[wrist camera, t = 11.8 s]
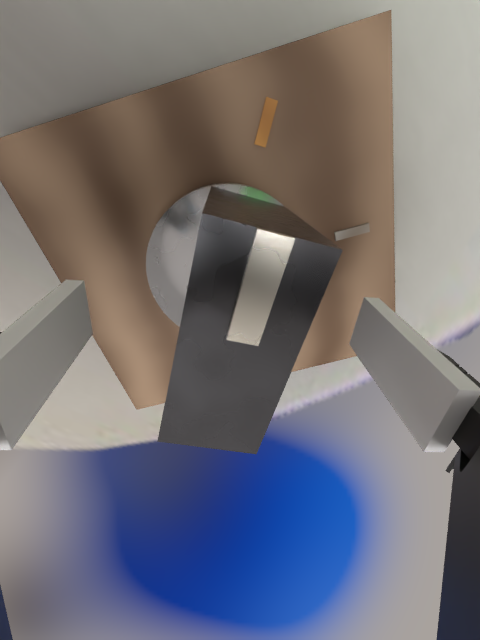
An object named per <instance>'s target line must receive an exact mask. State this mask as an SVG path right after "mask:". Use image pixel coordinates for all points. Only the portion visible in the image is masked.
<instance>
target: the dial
mask: <svg viewBox="0 0 480 640" xmlns="http://www.w3.org/2000/svg"><path fill="white" fill-rule="evenodd" d="M342 251H343V250H342V249H341V248H340V247H338V246H337V245H336V244H334V243H333V242H332V241H330V240H329V239H328V238H326V237H325V236H324V235H322V234H321V233H320V232H318V231H317V230H316V229H314V228H313V227H312V226H310V225H309V224H308V223H306V222H305V221H304V220H302V219H301V218H300V217H298V216H297V215H296V214H294V213H293V212H292V211H290V210H289V209H288V208H286V207H285V206H283V205H282V204H281V203H280V202H279V201H277V200H276V199H274V198H273V197H272V196H270V195H269V194H267V193H265V192H263V191H261V190H260V189H257V188H254V187H251V186H248V185H244V184H239V183H215V184H211V185H207V186H203V187H200V188H198V189H195V190H193V191H191V192H189V193H188V194H186V195H184V196H183V197H182V198H180V199H179V200H178V201H176V202H175V203H174V204H173V205H172V206H171V207H170V208H169V209H168V210H167V211H166V212H165V213H164V214H163V216H162V217H161V219H160V220H159V221H158V223H157V225H156V226H155V228H154V230H153V232H152V235H151V238H150V240H149V243H148V248H147V254H146V272H147V278H148V283H149V286H150V289H151V292H152V294H153V296H154V298H155V300H156V302H157V304H158V305H159V307H160V308H161V309H162V311H163V312H164V313H165V314H166V315H167V316H168V318H169V319H170V320H172V321H173V322H174V323H175V324H176V325H178V326H179V327H180V329H179V334H178V339H177V344H176V349H175V355H174V360H173V365H172V370H171V375H170V380H169V385H168V391H167V396H166V401H165V406H164V411H163V416H162V421H161V426H160V432H159V437H158V442H167V443H174V444H182V445H190V446H197V447H205V448H213V449H221V450H229V451H236V452H244V453H252V454H256V453H257V451H258V449H259V447H260V444H261V442H262V439H263V437H264V435H265V432H266V430H267V428H268V425H269V423H270V421H271V418H272V416H273V414H274V411H275V409H276V407H277V404H278V402H279V399H280V397H281V395H282V392H283V390H284V388H285V385H286V383H287V381H288V378H289V376H290V373H291V371H292V369H293V366H294V364H295V362H296V359H297V357H298V355H299V352H300V350H301V348H302V345H303V343H304V340H305V338H306V336H307V333H308V331H309V329H310V326H311V324H312V322H313V319H314V317H315V314H316V312H317V310H318V307H319V305H320V303H321V300H322V298H323V296H324V293H325V291H326V289H327V286H328V284H329V281H330V279H331V277H332V274H333V272H334V270H335V267H336V265H337V263H338V260H339V258H340V255H341V253H342Z"/></svg>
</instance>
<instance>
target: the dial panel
mask: <svg viewBox="0 0 480 640" xmlns="http://www.w3.org/2000/svg"><path fill="white" fill-rule="evenodd" d="M0 181H1V182H2V184H3V186H4V187H5V189H6V191H7V192H8V194H9V196H10V197H11V199H12V201H13V203H14V204H15V206H16V208H17V209H18V211H19V213H20V214H21V216H22V218H23V219H24V221H25V223H26V224H27V226H28V228H29V229H30V231H31V233H32V234H33V236H34V238H35V240H36V241H37V243H38V245H39V246H40V248H41V250H42V251H43V253H44V255H45V256H46V258H47V260H48V261H49V263H50V265H51V266H52V268H53V270H54V271H55V273H56V275H57V276H58V278H59V280H60V282H61V283H63V282H64V281H65V280H80V281H84V283H85V289H86V295H87V301H88V307H89V313H90V319H91V325H92V331H93V334H92V335H93V337H94V339H95V340H96V342H97V344H98V345H99V347H100V349H101V350H102V352H103V354H104V356H105V357H106V359H107V361H108V362H109V364H110V366H111V367H112V369H113V371H114V372H115V374H116V376H117V377H118V379H119V381H120V382H121V384H122V386H123V387H124V389H125V391H126V393H127V394H128V396H129V398H130V399H131V401H132V403H133V404H134V406H135V408H136V409H141V408H145V407H150V406H154V405H158V404H162V403H165V401H166V396H167V391H168V385H169V380H170V375H171V370H172V365H173V360H174V355H175V349H176V344H177V339H178V334H179V329H180V327H179V326H178V325H176V324H175V323H174V322H173V321H172V320H170V319H169V318H168V316H167V315H166V314H165V313H164V312H163V311H162V309H161V308H160V307H159V305H158V304H157V302H156V300H155V298H154V296H153V294H152V292H151V289H150V286H149V283H148V278H147V272H146V254H147V248H148V243H149V240H150V238H151V235H152V232H153V230H154V228H155V226H156V225H157V223H158V221H159V220H160V219H161V217H162V216H163V214H164V213H165V212H166V211H167V210H168V209H169V208H170V207H171V206H172V205H173V204H174V203H175V202H176V201H178V200H179V199H180V198H182V197H183V196H184V195H186V194H188V193H189V192H191V191H193V190H195V189H198V188H200V187H203V186H207V185H211V184H215V183H239V184H244V185H248V186H251V187H254V188H257V189H260V190H261V191H263V192H265V193H267V194H269V195H270V196H272V197H273V198H274V199H276V200H277V201H279V202H280V203H281V204H282V205H283V206H285V207H286V208H288V209H289V210H290V211H292V212H293V213H294V214H296V215H297V216H298V217H300V218H301V219H302V220H304V221H305V222H306V223H308V224H309V225H310V226H312V227H313V228H314V229H316V230H317V231H318V232H320V233H321V234H322V235H324V236H325V237H326V238H328V239H329V240H330V241H332V242H333V243H334V244H336V245H337V246H338V247H340V248H341V249H342V250H343V251H342V253H341V255H340V258H339V260H338V263H337V265H336V267H335V270H334V272H333V274H332V277H331V279H330V281H329V284H328V286H327V289H326V291H325V293H324V296H323V298H322V300H321V303H320V305H319V307H318V310H317V312H316V314H315V317H314V319H313V322H312V324H311V326H310V329H309V331H308V333H307V336H306V338H305V340H304V343H303V345H302V348H301V350H300V352H299V355H298V357H297V359H296V362H295V364H294V366H293V369H292V371H291V372H293V371H297V370H301V369H305V368H309V367H313V366H318V365H322V364H326V363H330V362H334V361H338V360H342V359H346V358H350V357H354V356H357V355H356V353H355V352H354V350H353V349H352V348H351V346H350V345H349V343H350V340H351V337H352V334H353V330H354V327H355V324H356V321H357V318H358V314H359V311H360V308H361V305H362V302H363V299H364V297H370V298H379V299H380V300H382V301H383V302H384V303H385V304H386V305H387V306H388V307H389V308H391V309H392V310H393V311H394V312H395V256H394V182H393V107H392V32H391V10H389V11H386V12H383V13H380V14H377V15H374V16H371V17H368V18H365V19H362V20H359V21H356V22H353V23H350V24H347V25H344V26H340V27H337V28H334V29H331V30H328V31H325V32H322V33H319V34H316V35H313V36H310V37H307V38H304V39H301V40H298V41H295V42H291V43H288V44H285V45H282V46H279V47H276V48H273V49H270V50H267V51H264V52H261V53H258V54H255V55H252V56H249V57H246V58H242V59H239V60H236V61H233V62H230V63H227V64H224V65H221V66H218V67H215V68H212V69H209V70H206V71H203V72H200V73H197V74H194V75H190V76H187V77H184V78H181V79H178V80H175V81H172V82H169V83H166V84H163V85H160V86H157V87H154V88H151V89H148V90H145V91H141V92H138V93H135V94H132V95H129V96H126V97H123V98H120V99H117V100H114V101H111V102H108V103H105V104H102V105H99V106H96V107H92V108H89V109H86V110H83V111H80V112H77V113H74V114H71V115H68V116H65V117H62V118H59V119H56V120H53V121H50V122H47V123H44V124H40V125H37V126H34V127H31V128H28V129H25V130H22V131H19V132H16V133H13V134H10V135H7V136H4V137H1V138H0Z"/></svg>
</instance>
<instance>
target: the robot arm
mask: <svg viewBox="0 0 480 640" xmlns="http://www.w3.org/2000/svg"><path fill="white" fill-rule="evenodd" d="M92 334H93V331H92V325H91V319H90V313H89V307H88V301H87V295H86V289H85V283H84V281H80V280H65V281H64V282H63V283H61V284H60V285H59V286H58V287H57V288H55V289H54V290H53V291H52V292H50V293H49V294H48V295H47V296H46V297H44V298H43V299H42V300H41V301H40V302H38V303H37V304H36V305H35V306H33V307H32V308H31V309H30V310H29V311H27V312H26V313H25V314H24V315H23V316H21V317H20V318H19V319H18V320H16V321H15V322H14V323H13V324H12V325H10V326H9V327H8V328H7V329H6V330H4V331H3V332H0V450H12V449H13V447H14V446H15V444H16V443H17V441H18V440H19V439H20V437H21V436H22V434H23V433H24V431H25V430H26V429H27V427H28V426H29V424H30V423H31V421H32V420H33V419H34V417H35V416H36V414H37V413H38V411H39V410H40V408H41V407H42V406H43V404H44V403H45V401H46V400H47V398H48V397H49V396H50V394H51V393H52V391H53V390H54V388H55V387H56V386H57V384H58V383H59V381H60V380H61V378H62V377H63V376H64V374H65V373H66V371H67V370H68V368H69V367H70V366H71V364H72V363H73V361H74V360H75V358H76V357H77V356H78V354H79V353H80V351H81V350H82V348H83V347H84V346H85V344H86V343H87V341H88V340H89V338H90V337H91V336H92ZM349 345H350V346H351V348H352V349H353V350H354V352H355V353H356V355H357V356H358V358H359V359H360V361H361V362H362V363H363V365H364V366H365V368H366V369H367V371H368V372H369V374H370V375H371V376H372V378H373V379H374V381H375V382H376V384H377V385H378V387H379V388H380V389H381V391H382V392H383V394H384V395H385V397H386V398H387V399H388V401H389V402H390V404H391V405H392V407H393V408H394V410H395V411H396V412H397V414H398V415H399V417H400V418H401V420H402V421H403V423H404V424H405V425H406V427H407V428H408V430H409V431H410V432H411V434H412V435H413V437H414V438H415V440H416V441H417V443H418V444H419V446H420V447H421V448H422V450H423V451H424V452H445V450H446V449H447V447H448V445H449V444H450V442H451V441H452V439H453V440H454V441H455V443H456V444H457V445H458V446H459V447H460V449H459V451H458V452H457V454H456V455H455V457H454V458H453V460H452V461H451V463H450V464H449V466H448V467H447V469H446V471H447V472H449V473H450V471H451V470H452V469H454V473H453V483H452V493H451V503H450V513H449V523H448V532H447V543H446V552H445V562H444V572H443V582H442V592H441V602H440V612H439V622H438V631H437V640H480V383H479V382H478V381H477V380H476V379H474V378H473V377H472V376H471V375H470V374H467V372H466V371H465V370H464V369H463V368H462V367H459V365H458V364H457V363H456V362H455V361H454V360H453V359H452V358H450V357H449V356H447V355H445V354H444V353H442V352H440V351H439V350H437V349H435V348H434V347H433V346H432V345H431V344H430V343H429V342H428V341H426V340H425V339H424V338H423V337H422V336H421V335H420V334H419V333H417V332H416V331H415V330H414V329H413V328H412V327H411V326H410V325H409V324H407V323H406V322H405V321H404V320H403V319H402V318H401V317H400V316H398V315H397V314H396V313H395V312H394V311H393V310H392V309H391V308H389V307H388V306H387V305H386V304H385V303H384V302H383V301H382V300H380V299H379V298H370V297H364V299H363V302H362V305H361V308H360V311H359V314H358V318H357V321H356V324H355V327H354V330H353V334H352V337H351V340H350V343H349ZM0 640H13V639H12V635H11V630H10V626H9V621H8V617H7V612H6V608H5V604H4V599H3V595H2V590H1V586H0Z"/></svg>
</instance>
